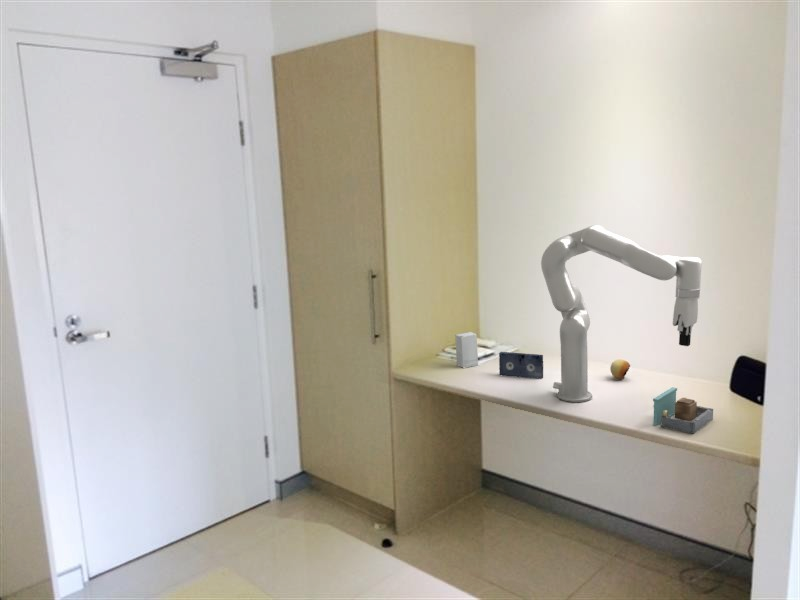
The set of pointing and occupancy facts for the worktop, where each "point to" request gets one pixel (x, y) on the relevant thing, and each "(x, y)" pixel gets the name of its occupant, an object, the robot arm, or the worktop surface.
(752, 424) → the worktop surface
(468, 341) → the skincare box
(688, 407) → the block
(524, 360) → the vhs cassette tape
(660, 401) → the flat teal rectangular block
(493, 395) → the worktop surface
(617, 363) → the fruit
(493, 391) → the worktop surface
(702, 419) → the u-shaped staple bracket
